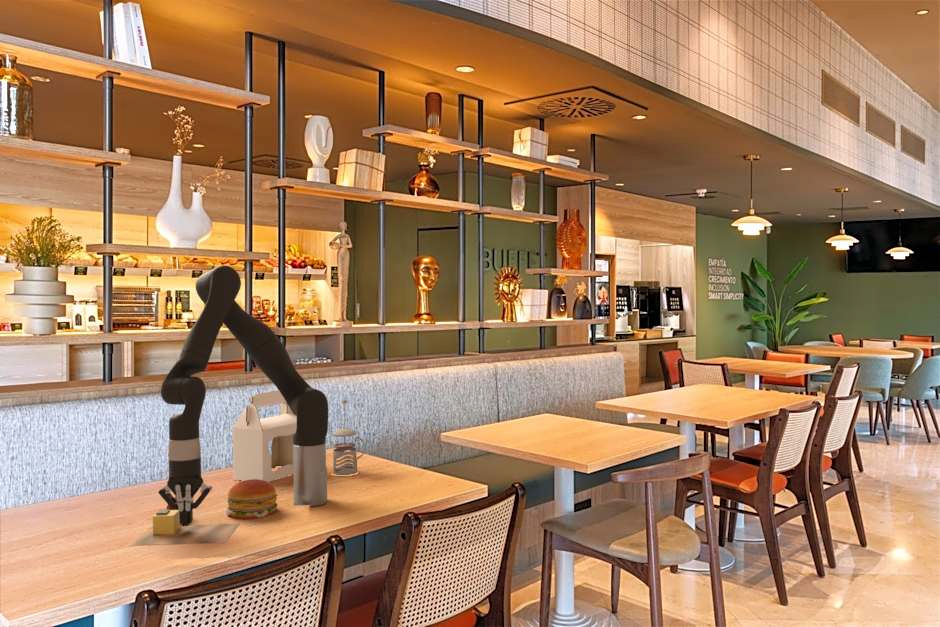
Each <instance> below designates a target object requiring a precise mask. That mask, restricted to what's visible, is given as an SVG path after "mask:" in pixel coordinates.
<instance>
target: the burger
mask: <svg viewBox="0 0 940 627" xmlns="http://www.w3.org/2000/svg"><path fill="white" fill-rule="evenodd" d="M277 496H278V494H277V490H276V488H275V486H274V485H273V484H272V482H267V481H264V480H258V479H252V480H245V481H238V483H236V484H234V485H233V486H232V487H231V488H230V489H229V491H228V492H227V503H228V505H227V506H228V507H227V508H226V516H229V517H231V518H233V519H239V520H240V519H241V520H243V519H244V520H250V519H251V520H252V519H258V518H264V517H268V516H271V515H273V514H274V513H275V512H276V510H277V507H278V505H279V504H278V502H277V499H278V497H277ZM276 502H277V503H276Z"/></svg>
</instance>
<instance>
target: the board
mask: <svg viewBox="0 0 940 627" xmlns="http://www.w3.org/2000/svg"><path fill="white" fill-rule="evenodd" d="M240 524H241V523H240V522H239V523H213V524H212V523H211V524H209V523H206V524H205V523H204V524H190V525H189V526H182V524H180V528H179V529H178V530H177V531H176V532H175V533H174V534H153V525H151V526H150V527H149V528H148V529H147V530H146V531H145V532H143V534H142V535H140V536H139V537H138V538H137V539H135V540H134V542H132V543H131V544H130V546H131V547H134V546H136V547H137V546H163V545H164V546H167V545H168V546H169V545H195V544H196V545H197V544H199V545H200V544H225V543H227V542H228V541H229V539H230V538H231V536H232V535H233V534H234V533H235V531H236V529H237V528H238V527H239V525H240Z"/></svg>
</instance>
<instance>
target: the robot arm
mask: <svg viewBox="0 0 940 627" xmlns="http://www.w3.org/2000/svg"><path fill="white" fill-rule="evenodd" d="M241 287H242V280H241V277H240V274H239V273H238V271H237V270H236V269H234V267H232V266H229V265H220V266H219V265H218V266H216V267H214V268H212V269H210V270H208V271H207V272H204V273H202V274H201V275H200V276H198V277H197V279H196V282H195V291H196V293H197V296H198V297H199V298H200V300H201V302H203V303H204V307H203V309H202V311H201V313H200V315H199V316H198V318H197V319H196V321H195V323H193V326H192V327H191V329H190V331H188V334H187V336H186V338H185V340H184V344H183V346H182V349H181V352H180V354H179V357H178V359H177V360H176V362H175V363H174V364H173V366H172V367H171V369H169V371H168V373H166V376H165V377H164V379H163V381H162V383H161V387H160V395H161V399H162V401H163V402H164V403H166V404H168V405H180V406H184V410H182V413H178V414H174V415H172V416H170V418H169V421H168V432H169V434H168V436H169V440H168V441H169V442H168V449H167V450H168V452H167V456H168V480H167V482H166V485H165V486H164V487H162V488H160V489H159V490H158V494H159V495H160V497H161V498H162V499H163V500H164V501H165V503H166V504H167V505H169V506H170V507H171V508H172V509H177V510H179V519H180V525H182V526H189V525H191V523H192V522H193V520H194V519H193V518H194V517H193V515H194V514H193V513H194V511H193V510H195V509H197V508H199V506H200V505H201V504H202V502H203V501H204V500H205V499H206V497H207V496H208V495H209V493H210V492H211V491H212V489H213V487H212V486H211V485H207V484H206V483H205V482H204V479H203V477H202V458H201V456H202V454H201V453H202V451H201V447H202V446H201V441H200V440H201V439H200V420H201V415H202V411H203V410H202V409H203V407H204V406H203V405H204V403H205V398H206V394H207V393H206V392H207V387H206V384H205V382H204V380H202V378H201V377H198V376H193V375H195V374H198V373H202V372H204V371H205V370H206V369H207V367H208V363H209V361H210V358H211V355H212V352H213V349H214V345H215V342H216V340H217V337H218V335H219V333H220V330H221V328H222V326H223V325H225V327H226V328H227V329H228V331H229V332H230V333H231V334H232V335H233V337H234V339H236V340H237V342H238V343H239V344H240V346H241V347H242V348H243V349H244V351H245V352H246V354H248V356H249V357H250V359H251V360H252V361H253V363H254V364H255V365H256V366H257V367H258V368H259V370H261V372H262V373H263V374H264V375H265V376H266V378H268V380H270V381H271V383H273V385H275V387H276V388H277V391H280V393H281V394H282V396H283V397H284V399H285V401H286V402H287V404H288V406H289V407H290V409H291V411H292V412H293V413H294V414H295V415H296V416H297V428H296V432H295V434H294V435H293V475H292V476H293V504H294V505H295V506H310V507H316V506H321V505H324V504H325V503H327V500H328V468H327V458H326V457H327V453H326V452H327V450H326V449H327V445H326V444H327V442H326V441H327V440H326V439H327V436H328V430H329V403H328V398H327V396H326V395H325V393H324V392H323V391H321V390H319V389H316V388H313V387H312V386H311V385H310V384H309V383H308V382H307V381H306V380H305V379H304V378H303V377H302V376H301V375H300V374H299V372H298V371H297V369H296V367H295V366H294V363H293V362H292V359H291V356H290V354H289V353H288V350H287V349H286V347H285V345H284V344H283V342H282V341H281V339H279V337H278V335H277V334H276V333H275V332H274V330H273V329H272V328H271V327H269V325H267V324H266V323H264V322H263V321H261V320H259V319H258V318H257V317H255V316H252V314H249V313H248V312H246V310H244V309H243V308H242V307H241V305H239V304H238V302H237V301H236V298H237V296H238V294H239V292H240V290H241ZM199 490H200V493H201V494H200V495H199V497H197V499H196V500H195V501H194V499H195V495H196V494H197V493H198V491H199ZM171 492H172V493H173V495H175V496H177V500H176V499H175V496H173V495H172V493H171ZM325 505H326V504H325Z"/></svg>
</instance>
